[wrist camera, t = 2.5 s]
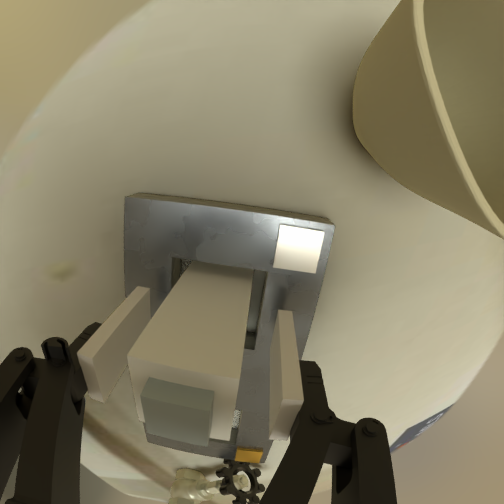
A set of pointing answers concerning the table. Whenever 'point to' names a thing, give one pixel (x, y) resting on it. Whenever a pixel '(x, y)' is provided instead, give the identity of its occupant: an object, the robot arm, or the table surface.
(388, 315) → the table surface
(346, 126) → the table surface
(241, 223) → the grey slotted tray
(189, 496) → the valve
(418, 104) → the mug
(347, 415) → the table surface
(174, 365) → the plug
